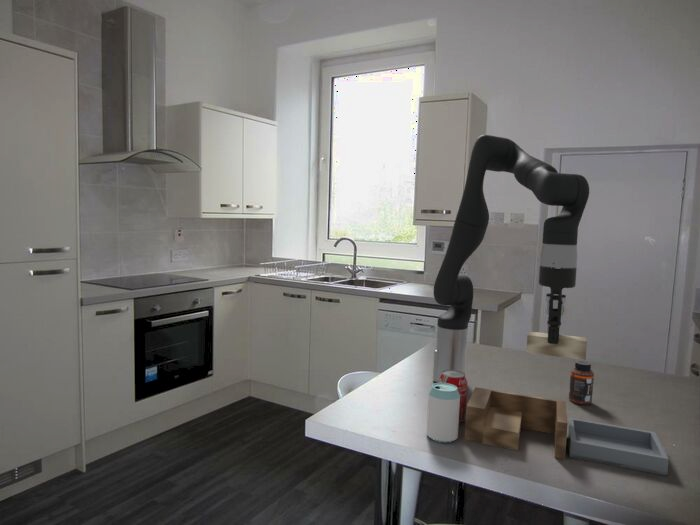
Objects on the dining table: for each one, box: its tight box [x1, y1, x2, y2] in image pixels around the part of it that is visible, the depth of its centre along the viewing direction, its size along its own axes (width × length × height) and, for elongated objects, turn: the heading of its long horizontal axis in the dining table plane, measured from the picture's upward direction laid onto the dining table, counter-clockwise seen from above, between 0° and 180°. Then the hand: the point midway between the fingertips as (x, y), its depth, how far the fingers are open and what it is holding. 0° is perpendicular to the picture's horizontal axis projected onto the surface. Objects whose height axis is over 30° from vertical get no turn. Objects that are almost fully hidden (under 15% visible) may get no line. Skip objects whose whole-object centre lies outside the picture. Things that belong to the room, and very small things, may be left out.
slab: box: [525, 330, 588, 361], centre depth 110 cm, size 12×4×4 cm, turn 67°
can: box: [426, 382, 460, 443], centre depth 112 cm, size 7×7×12 cm
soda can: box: [439, 370, 468, 424], centre depth 123 cm, size 7×7×12 cm
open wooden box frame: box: [464, 386, 568, 460], centre depth 114 cm, size 21×14×8 cm, turn 68°
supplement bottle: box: [568, 360, 595, 406], centre depth 139 cm, size 6×6×11 cm
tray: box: [567, 417, 670, 477], centre depth 109 cm, size 18×14×4 cm
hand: (553, 340), depth 110 cm, fingers closed on slab, 4 cm apart
